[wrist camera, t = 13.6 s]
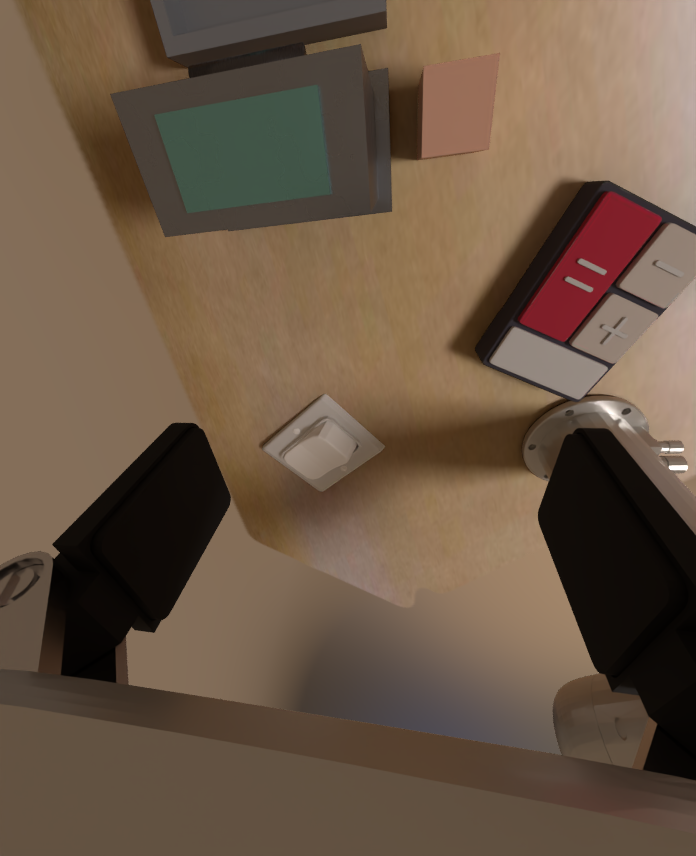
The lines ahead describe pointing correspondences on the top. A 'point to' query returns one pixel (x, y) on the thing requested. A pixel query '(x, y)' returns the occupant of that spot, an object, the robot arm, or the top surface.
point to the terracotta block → (456, 106)
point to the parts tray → (258, 25)
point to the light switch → (323, 444)
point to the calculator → (591, 291)
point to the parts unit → (263, 140)
